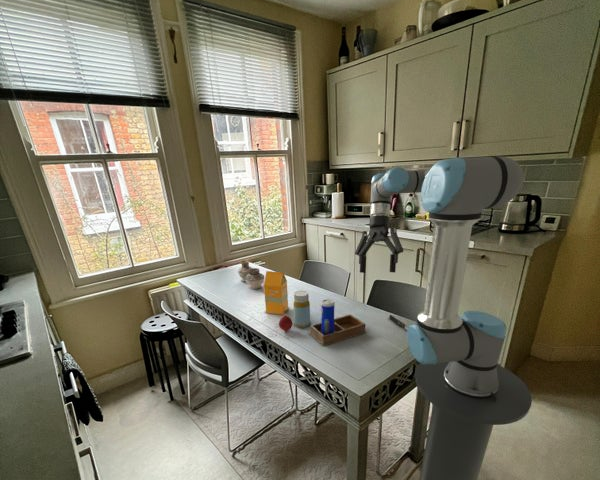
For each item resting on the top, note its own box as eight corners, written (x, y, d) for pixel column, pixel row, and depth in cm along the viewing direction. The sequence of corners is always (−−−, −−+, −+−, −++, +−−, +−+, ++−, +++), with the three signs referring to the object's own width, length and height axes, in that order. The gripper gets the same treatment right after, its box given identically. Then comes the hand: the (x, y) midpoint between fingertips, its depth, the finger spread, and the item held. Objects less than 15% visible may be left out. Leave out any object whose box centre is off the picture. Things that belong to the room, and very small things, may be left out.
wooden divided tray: (365, 332, 133) (365, 324, 131) (323, 345, 125) (323, 336, 123) (350, 322, 141) (350, 314, 140) (310, 334, 133) (310, 325, 132)
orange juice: (282, 314, 151) (280, 275, 142) (265, 312, 153) (262, 273, 145) (288, 307, 157) (286, 269, 149) (272, 305, 160) (269, 268, 152)
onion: (295, 329, 137) (294, 313, 134) (288, 335, 133) (287, 318, 129) (284, 326, 140) (283, 310, 137) (276, 332, 136) (275, 315, 132)
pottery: (252, 276, 202) (250, 258, 197) (268, 288, 183) (266, 268, 178) (235, 279, 197) (232, 261, 192) (250, 292, 178) (248, 272, 173)
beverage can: (319, 334, 131) (318, 302, 125) (327, 330, 134) (327, 298, 128) (328, 339, 127) (328, 305, 121) (336, 334, 131) (337, 301, 124)
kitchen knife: (388, 318, 143) (389, 315, 142) (390, 318, 143) (391, 314, 143) (415, 337, 128) (416, 333, 127) (417, 337, 128) (418, 333, 127)
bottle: (292, 327, 139) (291, 295, 133) (296, 319, 145) (295, 289, 139) (308, 328, 138) (307, 297, 131) (311, 321, 144) (310, 290, 138)
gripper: (415, 213, 114) (411, 272, 115) (359, 222, 133) (357, 273, 134) (404, 209, 109) (400, 271, 110) (348, 219, 128) (345, 272, 129)
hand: (376, 272), depth 122 cm, fingers open, 13 cm apart
